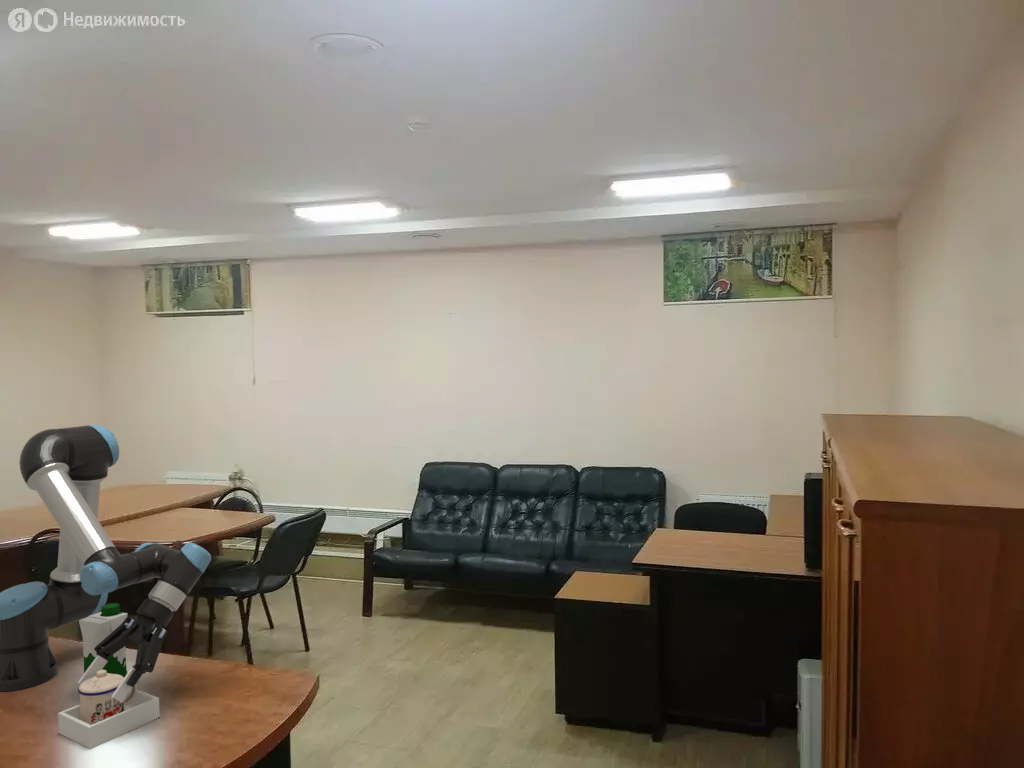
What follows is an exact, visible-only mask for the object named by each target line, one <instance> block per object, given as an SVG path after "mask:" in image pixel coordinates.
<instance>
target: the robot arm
mask: <svg viewBox="0 0 1024 768" xmlns="http://www.w3.org/2000/svg"><path fill="white" fill-rule="evenodd" d="M119 458H120V446H119V442H118V440H117V437H116V436H115V434H114V433H113V431H111V430H110V428H108V427H106V426H103V425H99V424H97V425H87V424H86V425H82V426H81V425H80V426H71V427H63V428H49V429H44V430H42V431H40V432H37V433H36V434H34V435H33V436H32V437H31V438H29V439H28V440H27V442H26V443H25V444H24V445H23V447H22V450H21V451H20V456H19V470H20V474H21V476H22V479H23V481H24V483H25V484H26V486H27V487H28V488H29V489H30V490H31V491H36V493H37V494H38V496H39V497H40V498H41V500H42V501H43V504H44V506H45V507H46V508H47V510H48V512H49V513H50V515H51V517H53V519H54V522H56V524H57V526H58V527H59V541H58V554H57V555H58V556H57V567H55V568H54V569H53V570H52V571H51V572H50V574H49V575H50V576H49V583H48V584H46V583H45V582H42V581H30V582H27V583H21V584H17V585H13V586H12V587H9V588H7V589H4V590H2V591H1V592H0V692H10V691H18V690H22V689H27V688H31V687H34V686H38V685H40V684H42V683H45V682H47V681H49V680H50V679H52V678H54V677H56V675H57V674H58V672H59V671H58V670H59V668H58V660H57V658H56V657H55V654H54V652H53V650H52V647H51V645H50V642H49V631H51V630H54V629H56V628H57V629H58V628H59V627H62V626H65V625H68V624H72V623H75V622H77V621H78V622H79V620H81V619H84V618H86V617H88V616H90V615H94V614H96V613H99V612H101V607H102V606H103V605H106V603H107V601H108V597H109V596H108V595H109V593H112V592H114V591H116V590H118V589H122V588H125V587H129V586H131V585H134V584H135V585H136V584H139V583H142V582H146V581H148V580H152V579H155V578H157V579H159V580H157V582H156V584H155V585H154V586H153V588H152V589H151V590H150V592H149V593H148V595H147V596H148V598H146V599H144V600H143V601H142V603H141V604H140V606H139V607H138V609H137V610H136V613H137V615H138V617H136V619H133V618H132V617H130V616H127V618H126V619H125V620H124V621H123V623H122V624H121V625H120V626H119V627H118V628H116V629H115V630H114V631H113V632H112V633H111V634H110V635H108V636H107V637H106V638H105V639H104V640H103V641H102V642H100V643H99V644H98V645H97V646H96V647H95V648H94V650H95V651H96V652H97V653H96V654H97V656H96V657H95V659H94V660H93V661H92V663H91V664H90V665H89V667H88V669H87V670H86V672H85V673H84V672H83V674H82V676H81V677H80V679H79V680H78V681H77V683H78V684H79V685H81V684H82V683H83V682H84V681H86V680H88V679H90V678H92V677H94V676H95V675H96V673H97V672H98V671H100V670H102V669H103V667H104V666H105V664H106V663H107V662H108V659H109V657H110V656H111V655H113V654H114V653H116V652H117V651H119V650H120V649H122V648H123V647H125V648H126V646H128V645H129V644H133V643H135V644H137V652H136V656H135V657H136V658H135V662H134V665H132V667H131V668H130V669H129V670H128V671H127V675H126V676H125V677H124V679H123V680H122V682H121V683H120V685H119V686H118V687H117V689H116V690H115V692H114V693H113V695H112V696H111V697H112V698H114V699H116V700H118V701H119V702H123V701H124V699H125V698H126V696H127V695H128V693H129V692H130V690H131V689H132V687H134V686H135V684H136V685H137V683H138V681H139V680H140V679H141V677H142V676H143V675H145V674H146V673H149V674H150V673H153V672H154V670H155V667H156V664H157V661H158V658H159V655H160V651H161V648H162V645H163V644H164V643H163V642H164V641H165V638H166V637H167V635H168V633H169V632H168V631H167V630H166V629H164V628H166V627H167V625H168V624H169V623H170V622H171V620H172V618H173V617H174V612H176V611H178V609H179V607H180V606H181V604H182V603H183V602H184V600H185V599H186V598H187V596H188V595H189V593H190V592H191V591H192V590H193V587H194V586H195V585H196V584H197V582H198V581H199V580H200V578H201V577H202V575H203V574H204V573H205V571H206V569H207V568H208V566H209V564H210V562H211V561H212V555H211V553H210V552H209V551H208V550H207V549H205V548H204V547H202V546H200V545H198V544H196V543H194V542H187V543H185V544H184V545H183V546H182V547H181V548H180V549H175V548H172V547H170V546H166V545H163V544H161V543H155V542H145V543H142V544H141V545H139V546H138V547H136V548H135V550H134V551H132V552H128V553H124V554H121V553H120V551H118V549H117V548H116V546H115V544H114V543H113V541H112V539H111V537H109V535H108V533H107V532H106V530H105V529H104V527H103V525H102V524H101V523H100V521H99V520H98V518H99V517H98V516H99V506H100V505H99V504H100V495H101V494H100V492H101V483H102V482H103V481H104V480H105V479H106V478H107V477H108V474H109V473H108V471H109V468H112V467H113V466H115V465H116V464H117V462H118V461H119ZM102 647H103V648H102Z"/></svg>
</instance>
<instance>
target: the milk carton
mask: <svg viewBox="0 0 1024 768" xmlns="http://www.w3.org/2000/svg"><path fill="white" fill-rule="evenodd" d="M128 615H129V614H128V613H127V612H124V611H121V609H120V603H117V602H112V603H107V604H106V603H105V605H103V606H102V607H101V610H100V611H99V612H98V613H96V614H94V615H90V616H88V617H86V618H84V619H81V620H78V623H79V628H80V632H81V636H82V637H81V638H82V650H83V651H82V655H83V657H82V658H83V674H84V673H85V672H86V670H87V669H88V667H89V665H90V664H91V663H92V661H93V660H94V659H95V657H96V656H97V654H96V653H97V652H96V651H95V650H94V648H95V647H96V646H97V645H98V644H99V643H100V642H102V641H103V640H104V639H105V638H106V637H107V636H108V635H110V634H111V633H112V632H113V631H114V630H115V629H116V628H118V627H119V626H120V625H121V624H122V623H123V621H124V620H125V619H126V618H127V617H128ZM102 648H103V647H102ZM126 653H127V652H126V646H125V647H123V648H122V649H120V650H119V651H117V652H116V653H114V654H113V655H111V656H110V657H109V659H108V662H107V663H106V664H105V666H104V667H103V669H102V670H106V671H107V673H110V674H118V675H121V676H123V677H125V676H126V675H127V673H128V670H127V656H126V655H127V654H126Z"/></svg>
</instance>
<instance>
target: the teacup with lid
mask: <svg viewBox="0 0 1024 768" xmlns="http://www.w3.org/2000/svg"><path fill="white" fill-rule="evenodd" d="M123 679H124V677H123V676H121V675H118V674H110V673H107V671H106V670H100V671H98V672H97V673H96V675H95V676H94V677H92V678H90V679H88V680H86V681H84V682H83V683H82V684H79V686H78V689H77V692H78V693H79V694H78V695H79V705H80V720H81V721H83V722H85V723H87V724H90V725H93V724H95V723H97V722H100V721H102V720H104V719H107V718H109V717H111V716H114V715H116V714H119V713H121V712H123V711H125V705H126V704H128V703H130V702H131V701H132V700H133V698H134V697H135V695H136V692H137V690H138V687H137V686H138V685H137V683H136V684H135V686H134V687H132V693H131V695H130V696H129V698H128V699H126V700H125V701H123V702H119V701H118V700H116V699H114V698H112V697H111V696H112V695H113V693H114V692H115V690H116V689H117V687H118V686H119V685H120V683H121V682H122V680H123Z"/></svg>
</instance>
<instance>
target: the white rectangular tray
mask: <svg viewBox="0 0 1024 768" xmlns="http://www.w3.org/2000/svg"><path fill="white" fill-rule="evenodd" d="M131 693H132V689H131V690H130V692H129V693H128V695H127V696H126V698H125V699H124V701H125V700H126V699H128V698H129V696H130V695H131ZM160 714H161V713H160V697H157V696H155V695H152V694H150V693H147V692H146V691H142V690H140V689H137V692H136V695H135V697H134V698H133V700H132V701H131V702H130V703H128V704H126V705H125V711H123V712H121V713H119V714H116V715H114V716H111V717H109V718H107V719H104V720H102V721H100V722H97V723H95V724H93V725H90V724H87V723H85V722H83V721H81V720H80V704H78V705H75V706H73V707H70V708H68V709H65V710H63V711H60V712H57V719H58V721H57V722H58V734H60V736H61V735H62V736H64V737H66V738H68V739H69V740H72V741H73V742H76V744H77V743H78V744H79V745H81V746H83V747H85V748H88V749H89V750H90V748H91V749H92V748H95V747H98V746H99V744H100V745H102V744H105V743H106V742H108V741H110V740H112V739H115V738H117V737H119V736H122V735H124V734H126V733H128V732H131V731H133V730H135V729H137V728H139V727H141V726H144V725H146V724H149V723H150V722H153V721H155V720H157V719H159V718H158V717H160ZM156 718H157V719H156ZM154 719H155V720H154Z"/></svg>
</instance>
